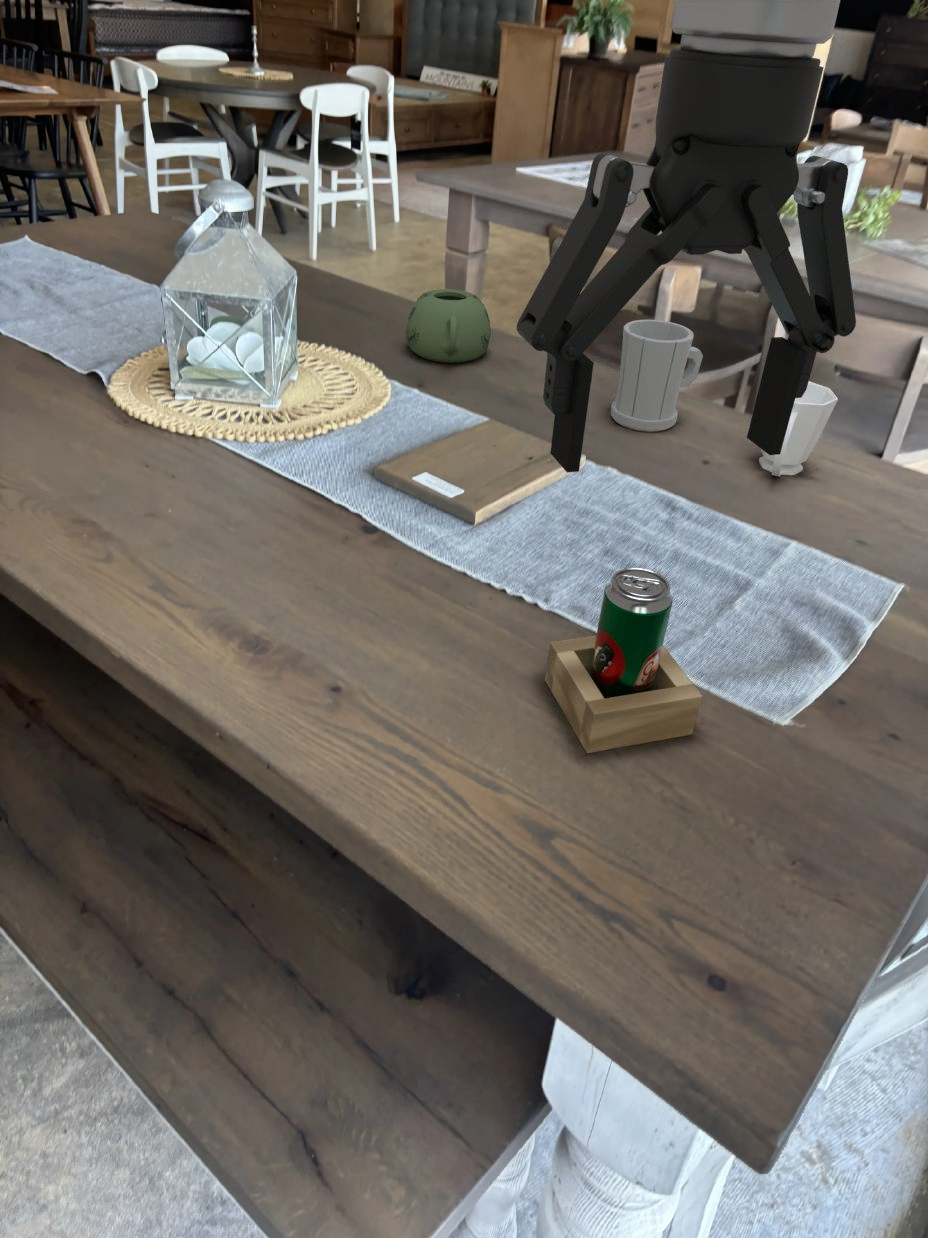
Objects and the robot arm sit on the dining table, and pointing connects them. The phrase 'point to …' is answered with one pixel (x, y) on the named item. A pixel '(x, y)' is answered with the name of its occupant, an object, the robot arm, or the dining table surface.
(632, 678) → the soda can
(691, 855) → the dining table surface
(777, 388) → the robot arm
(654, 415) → the cup
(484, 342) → the mug
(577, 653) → the holder
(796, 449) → the cup
